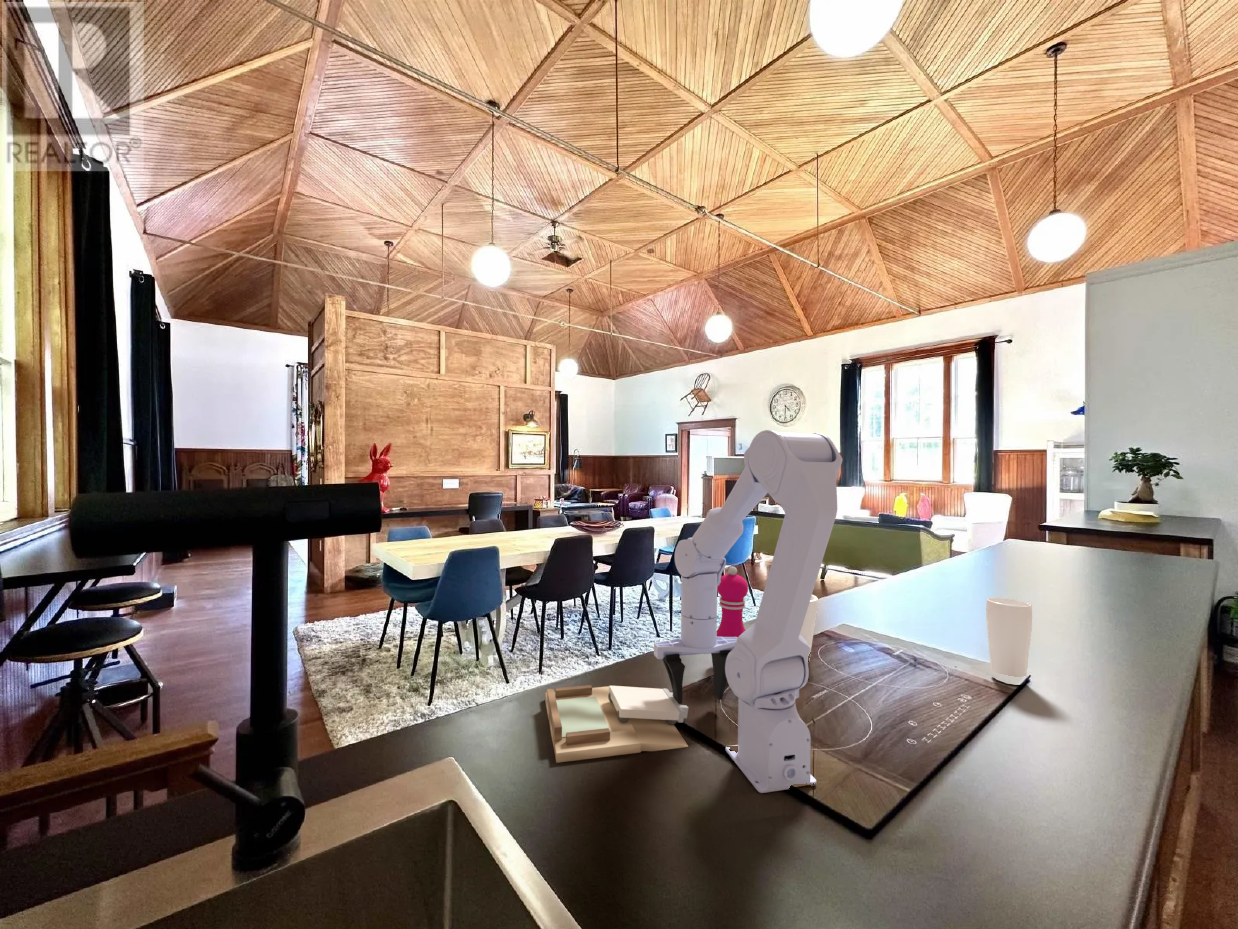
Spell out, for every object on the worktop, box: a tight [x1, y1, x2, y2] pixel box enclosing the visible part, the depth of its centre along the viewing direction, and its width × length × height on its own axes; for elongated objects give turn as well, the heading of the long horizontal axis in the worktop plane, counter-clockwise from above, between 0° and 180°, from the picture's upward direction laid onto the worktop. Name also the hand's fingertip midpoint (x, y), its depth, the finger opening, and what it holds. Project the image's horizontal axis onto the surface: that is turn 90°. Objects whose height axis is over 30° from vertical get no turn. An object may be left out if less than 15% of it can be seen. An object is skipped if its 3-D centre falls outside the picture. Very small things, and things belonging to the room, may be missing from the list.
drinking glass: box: [985, 596, 1033, 677], centre depth 92 cm, size 7×7×15 cm
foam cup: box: [800, 594, 819, 655], centre depth 101 cm, size 10×9×13 cm
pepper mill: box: [717, 566, 749, 637], centre depth 96 cm, size 7×7×20 cm
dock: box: [544, 684, 689, 764], centre depth 75 cm, size 18×18×4 cm
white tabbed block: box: [608, 685, 689, 726], centre depth 76 cm, size 8×11×2 cm
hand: (697, 699), depth 78 cm, fingers open, 6 cm apart
